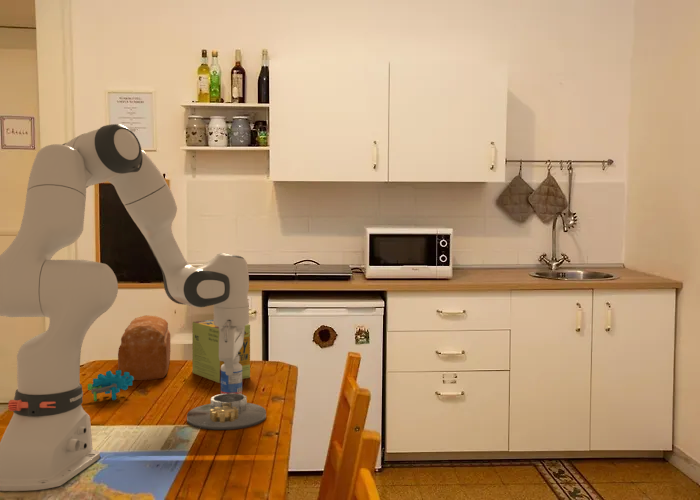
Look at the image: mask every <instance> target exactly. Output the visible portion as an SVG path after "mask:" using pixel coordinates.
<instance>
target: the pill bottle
mask: <svg viewBox="0 0 700 500" xmlns="http://www.w3.org/2000/svg"><path fill="white" fill-rule="evenodd" d="M239 360H240V357H239V355H236V357H235V359H234V361H233V367H234V370H233V371H234V372H233V375H226V368H225V363H224V364H223V365H222V366H221V383H220V394H225V393H226V394H227V393H237V394H242V393H243V379H242V365H241V364H239Z"/></svg>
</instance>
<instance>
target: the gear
mask: <svg viewBox="0 0 700 500" xmlns="http://www.w3.org/2000/svg"><path fill="white" fill-rule="evenodd" d="M120 375H121V370H119V369H117V370H115V374H114V373H112V371H111V370H107V371H106V372H105V374H103V373H99V374H98V375H97V378H96V377H95V378H93V379H92V383H88V384H87V390H88V391H91V394H93V402H97V401H98V396H97V395H98V394H102V393H104V394H105V395H108V394H111V400H112V401H115V400H117V394H118V393H120V392H121V390H123V391H126V390H128V388H129V386H133V381H135V380H134V379H133V376H130V375H129V372H124V375H123V376H120ZM127 377H128V378H127Z"/></svg>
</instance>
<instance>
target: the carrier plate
mask: <svg viewBox="0 0 700 500" xmlns="http://www.w3.org/2000/svg"><path fill="white" fill-rule="evenodd" d="M247 399H248V397H247V395H244V394H242V393H241V394H237V393H227V394H226V393H225V394H221V393H220V394H216V395H214V396H211V398H210V403H207V404H203V405H199V406H196V407H193V408H192V409H190V410H189V411H188V412H187V413H186V422H187V424H189V425H191V426H192V427H194V428H197V429H202V430H211V431H230V430H232V431H233V430H240V429H241V430H242V429H246V428H249V427H253V426H256V425H259V424H260V423H263V422H264V421H265V420H266V418H267V410H266V408H264V407H263V406H262V405H259V404H255V403H251V402H247V401H248V400H247Z"/></svg>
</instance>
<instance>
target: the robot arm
mask: <svg viewBox="0 0 700 500" xmlns="http://www.w3.org/2000/svg"><path fill="white" fill-rule="evenodd" d="M106 182H108V183H110V184H111V185H113V186H114V189H115V191H116V193H117V196H118V197H119V199H120V201H121V203H122V204H123V206H124V208H125V209H126V211H127V213H128V215H129V216H130V217H131V219H132V221H133V222H134V224H135V225H136V226H137V228H138V229H139V230H140V232H141V234H142V235H143V237H144V238H145V241H146V242H147V244H148V247H149V249H150V250H151V252H152V254H153V257H154V259H156V260H155V261H156V262H157V264H158V266H159V268H160V270H161V273H162V278H163V286H164V291H165V294H166V296H167V297H168V299H170V300H171V301H172V302H173V303H175V304H178V305H187V306H190V307H194V308H206V307H210V306H213V320H214V325H216V326H219V331H220V334H219V360H220V361H224V363H225V368H226V375H233V372H234V371H233V370H234V367H233V361H234V359H235V357H236V355H238V352H239V350H240V349H241V347H242V345H243V340H244V330H245V325H248V324H249V325H250V303H249V300H248V296H249V295H248V294H249V289H250V277H249V275H250V274H249V267H248V262H247V260H246V258H244V257H242V256H240V255H236V254H229V253H225V252H224V253H221V252H220V253H218V254H216V255H215V256H214V258H212V259H211V260H208V261H207V262H205V263H203V264H201V265H199V266H197V267H195V266H193V265H192V264H190V262H188V261H187V260H186V258H185V257H184V255H183V253H182V251H181V249H180V246H179V244H178V243H177V241H176V238H175V236H174V234H173V230H172V226H173V225H172V224H173V223H174V220H175V218H176V215H177V212H178V211H177V210H178V208H177V207H178V205H177V203H176V201H175V197H174V195H173V193H172V190H171V188H170V187H169V185H168V183H167V181H166V178H165V177H164V176H163V175H162V173H161V171H160V170H159V169H158V167H157V165H156V164H155V163H154V162H153V160H152V158H150V156H149V155H148V154H147V153H146V151H144V150H143V149H142V145H141V144H140V141H139V139H138V136H136V134H135V133H134V132H133V131H132V130H131V129H129V128H128V127H126V126H125V125H123V124H118V123H114V124H105V125H103V126H100V128H97V129H95V130H91V131H89V132H86V133H82V134H80V135H78V136H76V137H73V138H72V139H71V140H69V141H67V142H65V143H63V144H60V143H56V144H55V143H54V144H48V145H46V146H43V147H42V148H41V149H40V150H39V151H38V152H37V153H36V155H35V159H34V161H33V163H32V166H31V170H30V173H29V176H28V181H27V188H26V195H25V202H24V203H25V204H24V208H23V209H24V210H23V215H22V220H21V223H20V224H21V225H20V227H19V230H18V232H17V234H16V236H15V238H14V239H13V241H12V242H11V244H10V245H9V246H8V247H7V248H6V249H5V251H4V252H2V253H1V254H0V316H1V317H6V318H7V317H8V318H49V325H48V328H47V330H46V331H44V332H41V333H39V334H36V335H35V336H33V337H32V338H29V339H28V340H26V341H25V342H24V343H23V344H21V346H20V348H18V349H19V350H18V351H17V353H16V372H17V374H16V376H17V377H16V378H17V379H16V380H17V389H16V390H15V392H14V393H15V394H14V397H13V399H10V400H8V403H7V409H8V411H9V412H13V413H12V414H13V415H12V417H11V419H10V420H9V423H8V425H7V427H6V429H5V431H4V433H3V436H2V438H1V439H0V491H1V492H2V491H5V492H6V491H7V492H18V491H21V492H23V491H38V490H47V489H51V488H57V487H60V486H62V485H64V484H65V483H67V482H68V481H70V480H71V479H72V478H73V477H75V476H77V475H78V474H79V473H81V472H82V471H84V470H85V469H87V468H88V467H90V466H91V465H92V464H94V463H95V462H97V461H98V460H100V458H101V454H100V451H98V450H95V449H93V437H92V425H91V417H90V415H89V413H87V412H86V411H85V410H84V408H83V406H82V404H83V401H84V399H83V396H84V391H83V386H82V384H81V382H80V375H81V374H80V372H81V371H80V370H81V369H80V368H81V367H80V366H81V354H82V353H81V351H82V346H83V342H84V339H85V337H86V334H87V333H88V331H89V329H90V328H91V326H92V325H93V324H94V323H95V322H96V321H97V319H99V318H100V317H101V316H102V315H103V314H105V313H106V312H107V311H108V310H110V309H111V307H112V306H113V305H114V303H115V301H116V299H117V297H118V292H119V291H118V290H119V283H118V279H117V276H116V274H115V273H114V272H115V271H113V269H112V268H111V267H110V266H109V265H108V264H106V263H104V262H103V263H102V262H99V261H92V260H88V259H52V258H53V256H55V255H56V254H57V252H59V251H60V250H63V249H64V248H66V247H68V246H70V245H72V244H74V243H75V242H76V241H77V240H78V239H79V238H80V237H81V235H82V233H83V231H84V224H85V222H84V221H85V211H86V199H87V188H88V187H90V186H95V185H97V184H101V183H106Z"/></svg>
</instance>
